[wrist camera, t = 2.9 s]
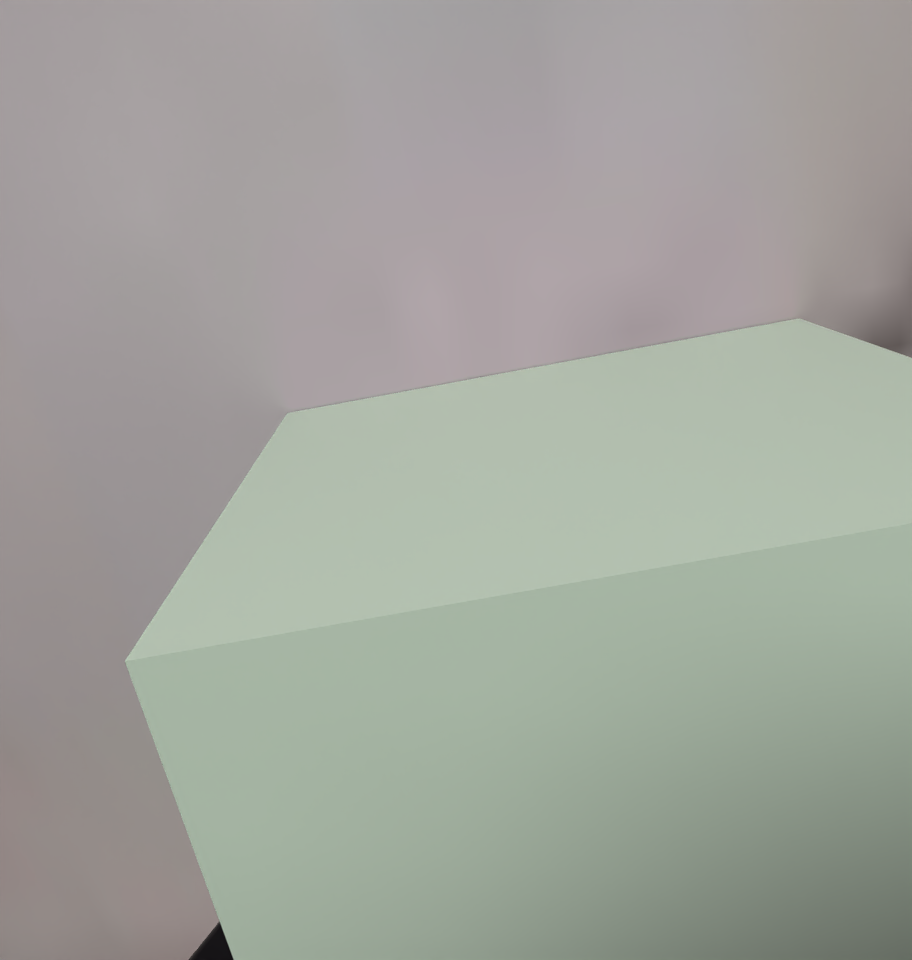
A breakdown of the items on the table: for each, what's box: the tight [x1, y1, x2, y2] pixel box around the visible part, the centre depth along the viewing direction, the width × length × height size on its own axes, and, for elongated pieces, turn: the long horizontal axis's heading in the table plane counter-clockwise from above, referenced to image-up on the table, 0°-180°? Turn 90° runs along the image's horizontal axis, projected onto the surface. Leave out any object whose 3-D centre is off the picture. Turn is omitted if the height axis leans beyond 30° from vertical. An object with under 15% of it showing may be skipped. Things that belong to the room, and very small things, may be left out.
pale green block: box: [125, 319, 912, 960], centre depth 7 cm, size 5×9×5 cm, turn 10°
